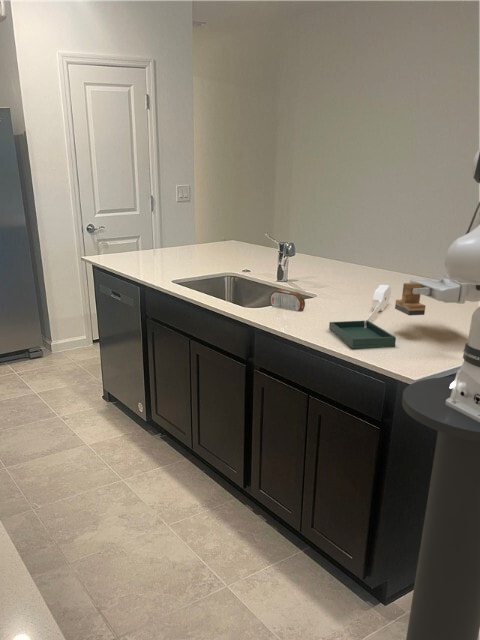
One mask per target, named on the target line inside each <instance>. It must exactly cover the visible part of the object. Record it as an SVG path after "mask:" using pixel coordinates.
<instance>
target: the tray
mask: <svg viewBox="0 0 480 640" xmlns="http://www.w3.org/2000/svg"><path fill="white" fill-rule="evenodd" d="M328 323H329V325H328V330H329V331H331V332H332V334H334V335H335V336H336V337H337V338H339V339H340V340H341V341H342V342H343V343H344V344H346V345H347V346H348V347H349V348H351V349H371V348H372V349H373V348H395V347H396V341H397V337H396V336H395V335H393V334H392V333H390V332H388V331H387V330H385V329H383V328H381V327H380V326H379V325H377V324H375V323H374V322H372V321H371V322H370V321H367V327H366V328H365V329H364V323H365V320H347V321H329V322H328Z"/></svg>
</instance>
